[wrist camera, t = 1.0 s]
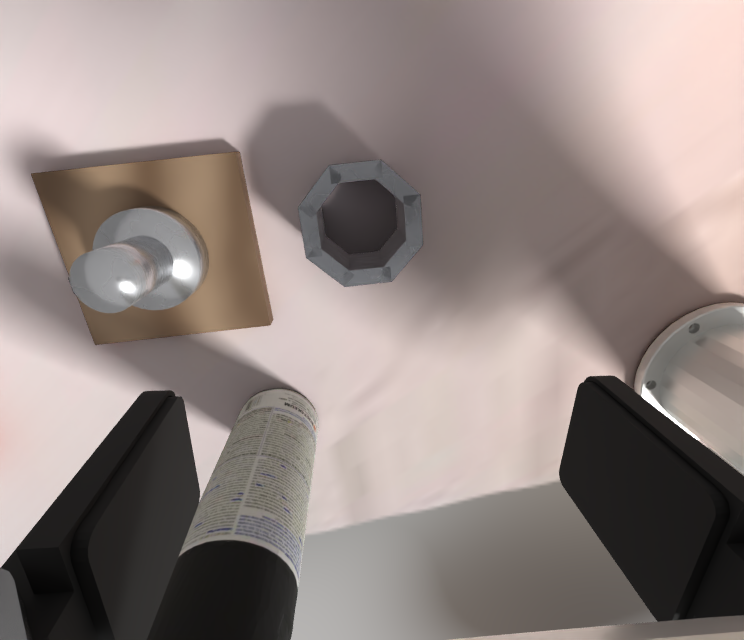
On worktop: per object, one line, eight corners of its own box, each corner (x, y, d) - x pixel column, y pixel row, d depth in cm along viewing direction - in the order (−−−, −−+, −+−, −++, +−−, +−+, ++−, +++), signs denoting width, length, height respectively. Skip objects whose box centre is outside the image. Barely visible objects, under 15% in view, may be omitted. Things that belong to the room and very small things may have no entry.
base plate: (239, 152, 28) (235, 151, 26) (273, 319, 32) (270, 325, 31) (43, 173, 27) (30, 173, 26) (104, 338, 32) (94, 344, 31)
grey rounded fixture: (195, 200, 27) (147, 212, 21) (219, 295, 30) (182, 333, 23) (95, 211, 27) (15, 227, 21) (126, 305, 30) (64, 346, 23)
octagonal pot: (406, 156, 28) (418, 155, 23) (413, 260, 31) (424, 278, 26) (301, 168, 28) (291, 169, 23) (316, 271, 31) (311, 290, 26)
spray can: (242, 452, 36) (127, 763, 17) (236, 383, 34) (95, 659, 15) (319, 452, 36) (287, 755, 18) (318, 384, 34) (281, 653, 15)
